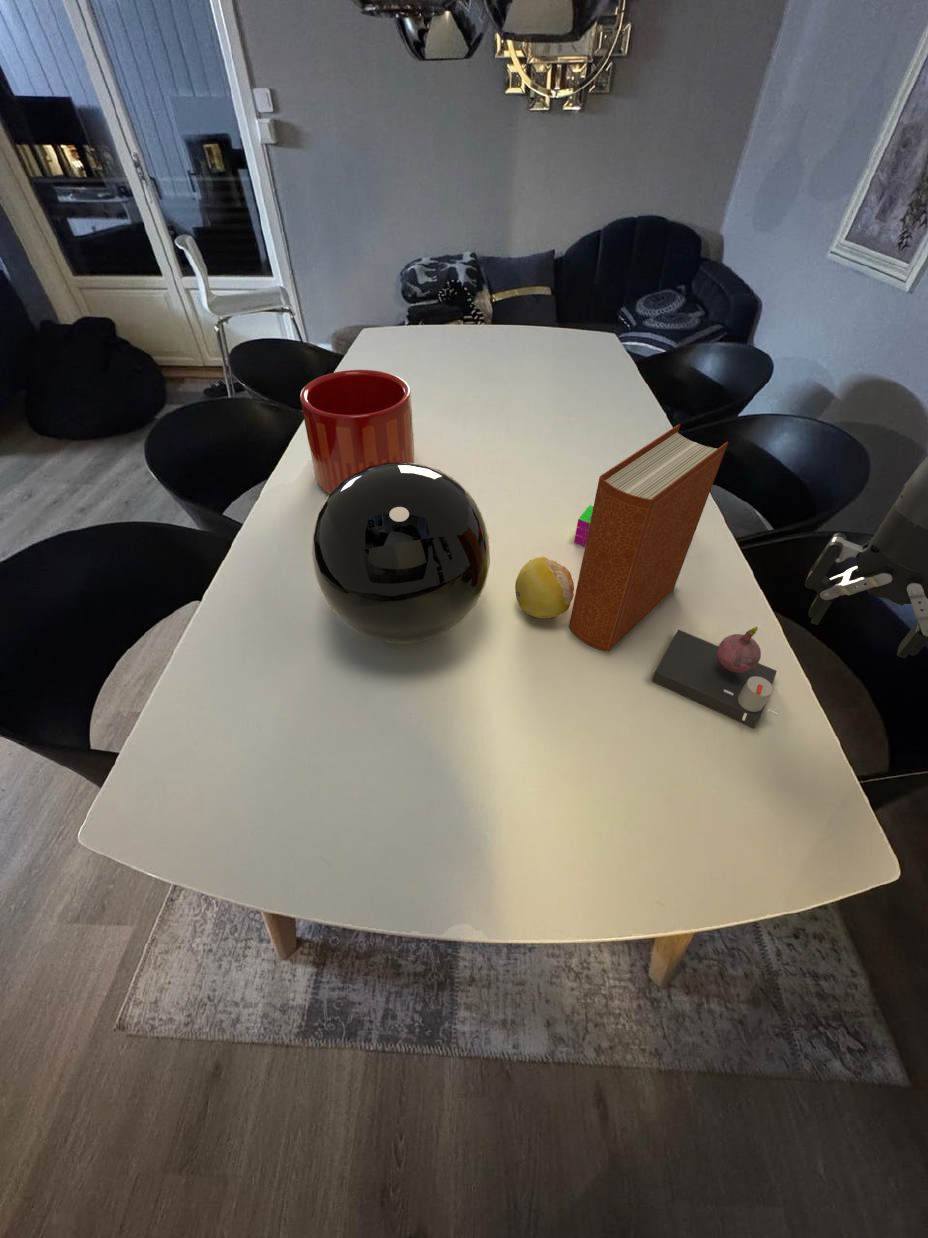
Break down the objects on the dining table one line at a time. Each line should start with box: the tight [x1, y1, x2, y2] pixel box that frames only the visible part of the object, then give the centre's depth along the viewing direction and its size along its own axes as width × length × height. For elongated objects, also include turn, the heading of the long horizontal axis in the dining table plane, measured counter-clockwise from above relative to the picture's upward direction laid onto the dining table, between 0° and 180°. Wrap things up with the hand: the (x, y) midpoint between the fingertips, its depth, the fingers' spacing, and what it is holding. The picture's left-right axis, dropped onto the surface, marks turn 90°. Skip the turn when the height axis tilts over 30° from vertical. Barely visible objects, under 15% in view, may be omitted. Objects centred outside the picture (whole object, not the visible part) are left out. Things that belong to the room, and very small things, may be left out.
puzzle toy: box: [573, 504, 594, 547], centre depth 115 cm, size 6×6×6 cm
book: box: [568, 423, 729, 653], centre depth 92 cm, size 23×8×30 cm, turn 136°
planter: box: [299, 369, 416, 494], centre depth 126 cm, size 23×23×20 cm
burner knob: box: [738, 676, 774, 712], centre depth 84 cm, size 4×4×4 cm
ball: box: [311, 462, 491, 644], centre depth 91 cm, size 28×28×28 cm
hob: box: [651, 629, 778, 729], centre depth 89 cm, size 18×13×3 cm
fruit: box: [514, 556, 575, 619], centre depth 99 cm, size 10×11×10 cm
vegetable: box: [717, 626, 762, 672], centre depth 86 cm, size 6×6×10 cm
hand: (857, 635), depth 62 cm, fingers open, 8 cm apart
